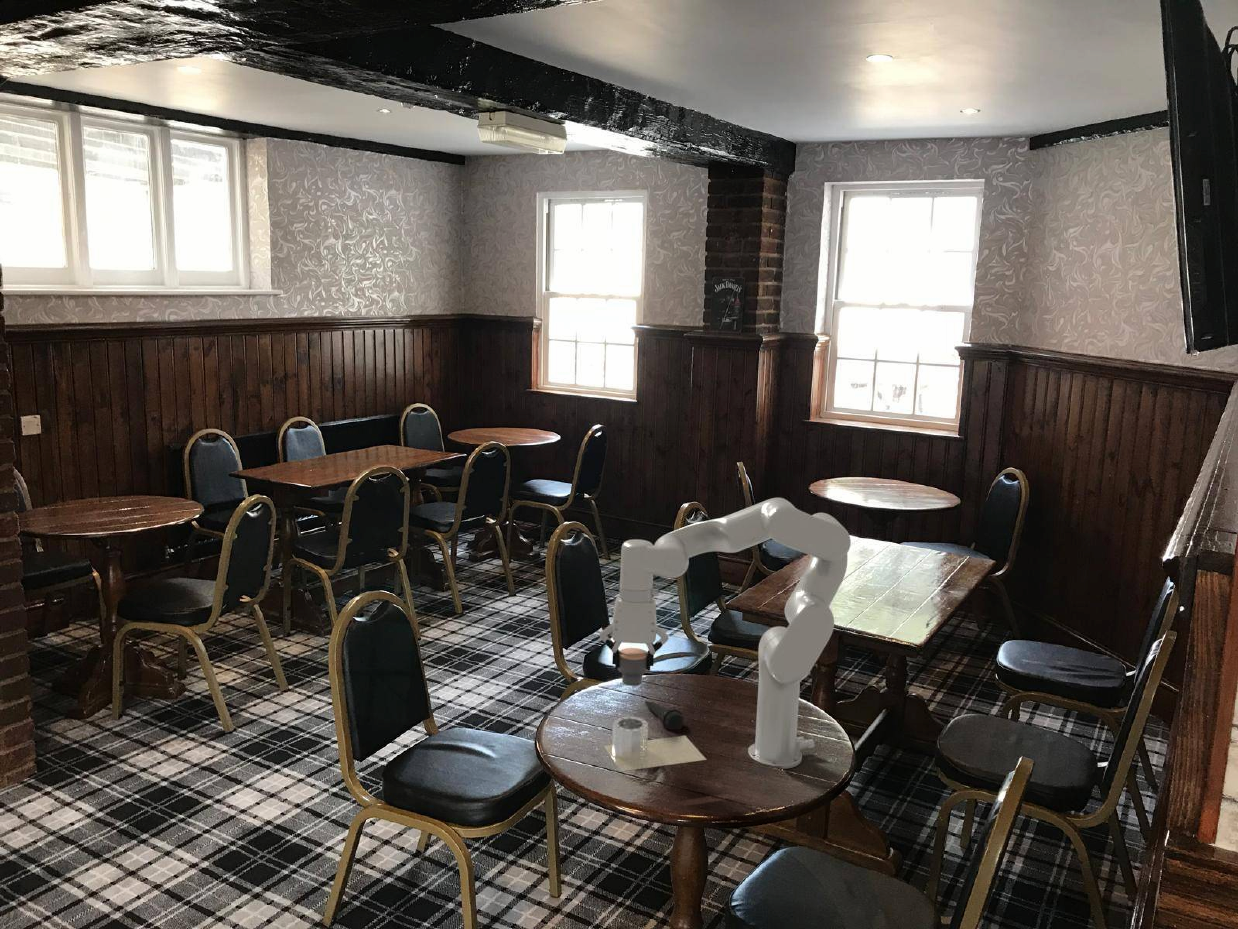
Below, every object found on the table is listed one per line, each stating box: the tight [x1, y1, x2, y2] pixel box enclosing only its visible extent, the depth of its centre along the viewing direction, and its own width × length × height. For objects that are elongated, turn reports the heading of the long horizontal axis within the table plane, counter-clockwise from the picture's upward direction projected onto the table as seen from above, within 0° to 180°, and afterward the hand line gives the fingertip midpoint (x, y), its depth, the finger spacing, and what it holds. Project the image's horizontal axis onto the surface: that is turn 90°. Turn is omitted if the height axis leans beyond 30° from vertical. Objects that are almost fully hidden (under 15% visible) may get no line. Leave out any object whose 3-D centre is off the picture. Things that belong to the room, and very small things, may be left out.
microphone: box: [644, 700, 685, 731], centre depth 253 cm, size 6×6×20 cm
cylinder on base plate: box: [603, 715, 707, 772], centre depth 232 cm, size 21×13×8 cm, turn 109°
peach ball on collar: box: [617, 647, 648, 687], centre depth 229 cm, size 7×7×7 cm
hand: (632, 667), depth 229 cm, fingers closed on peach ball on collar, 6 cm apart
